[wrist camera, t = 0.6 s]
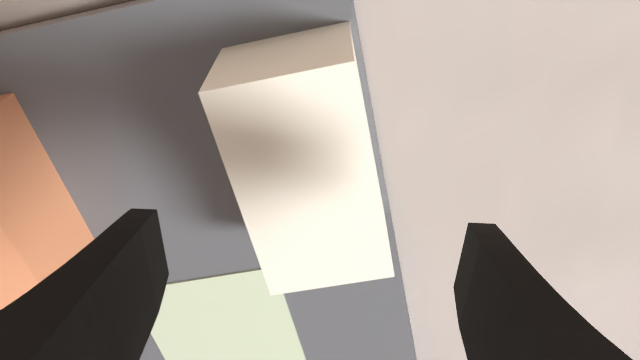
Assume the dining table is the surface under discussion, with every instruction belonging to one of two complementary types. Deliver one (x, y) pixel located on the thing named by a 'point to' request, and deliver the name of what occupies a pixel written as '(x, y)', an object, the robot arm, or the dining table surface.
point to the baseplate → (190, 172)
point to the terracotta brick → (32, 208)
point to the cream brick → (300, 158)
